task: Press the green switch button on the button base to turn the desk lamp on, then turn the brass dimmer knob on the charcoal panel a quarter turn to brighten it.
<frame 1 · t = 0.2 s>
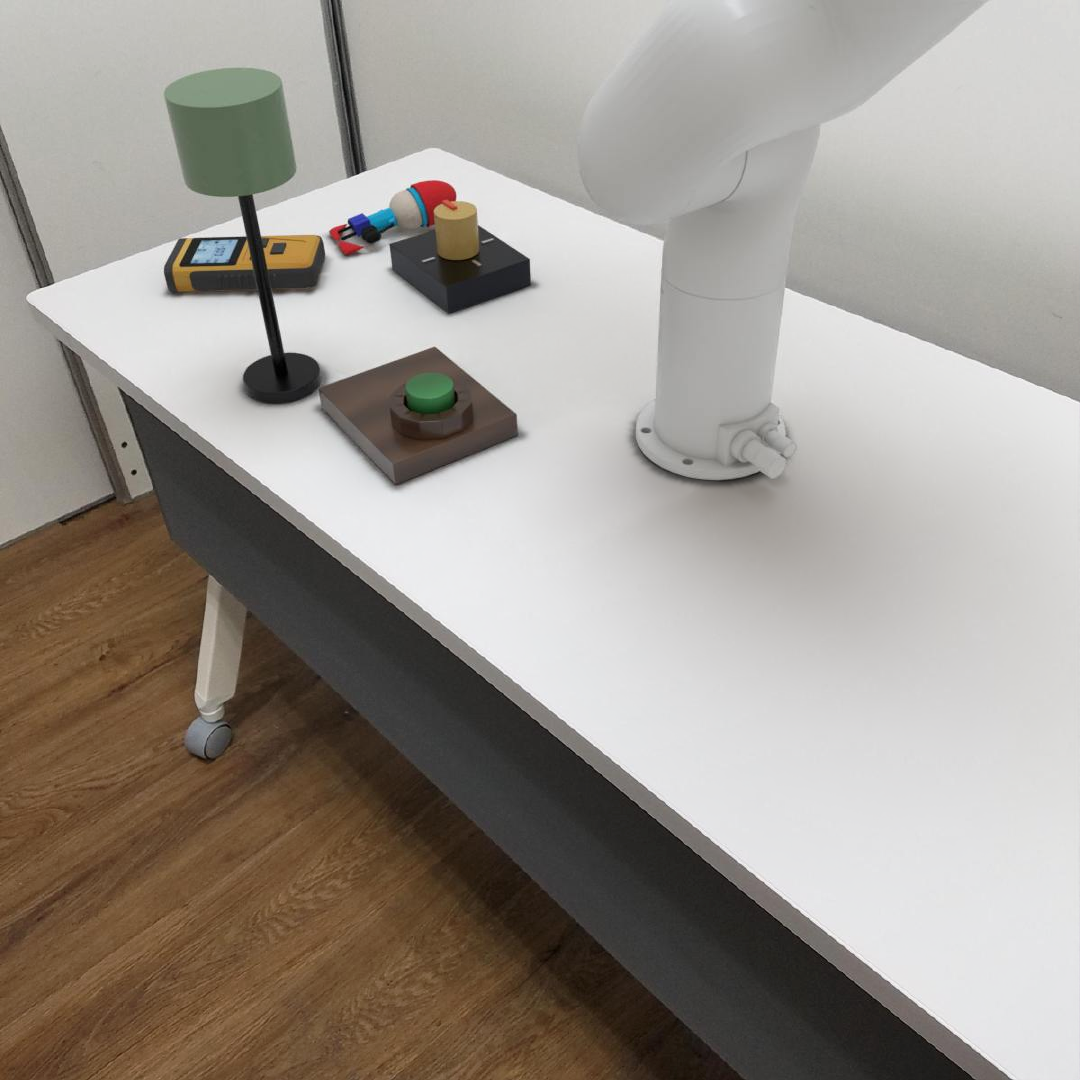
electronic device: (250, 277, 122), on the table
dimmer panel: (460, 277, 120), on the table
button base: (417, 421, 100), on the table
switch: (430, 394, 95), point 4 cm above the table, slide at 0.1 cm
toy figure: (397, 233, 129), on the table
lamp: (283, 383, 105), on the table
dimmer: (456, 229, 117), point 5 cm above the table, hinge at 0.0°
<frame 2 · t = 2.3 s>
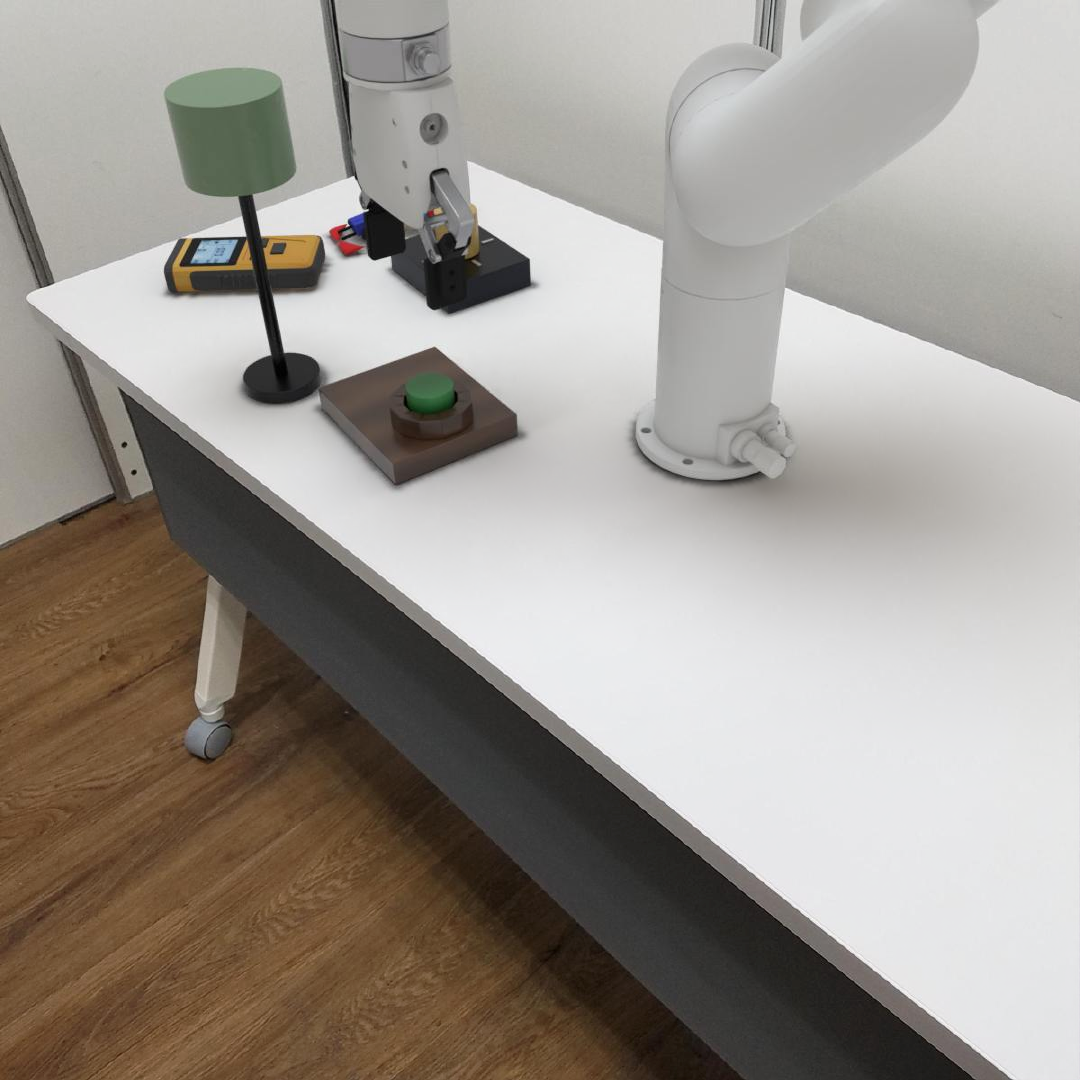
hand: (416, 278, 89), 15 cm above the table, tool pointing down, fingers open, 9 cm apart
nothing on the table moved.
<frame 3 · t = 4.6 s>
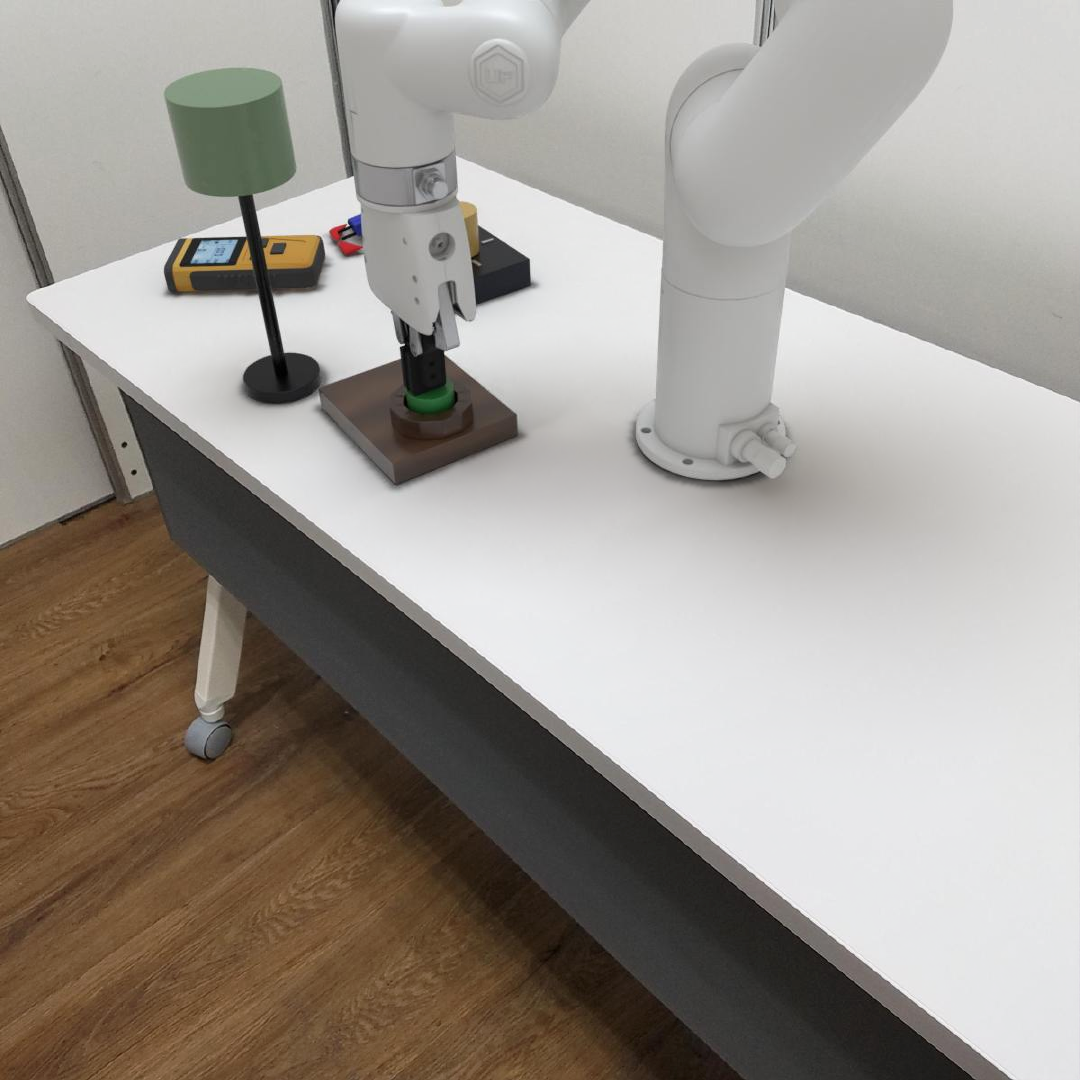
hand: (425, 386, 95), 5 cm above the table, tool pointing down, fingers closed
switch: (430, 395, 95), point 4 cm above the table, slide at -0.1 cm, touching gripper
everything else where it was.
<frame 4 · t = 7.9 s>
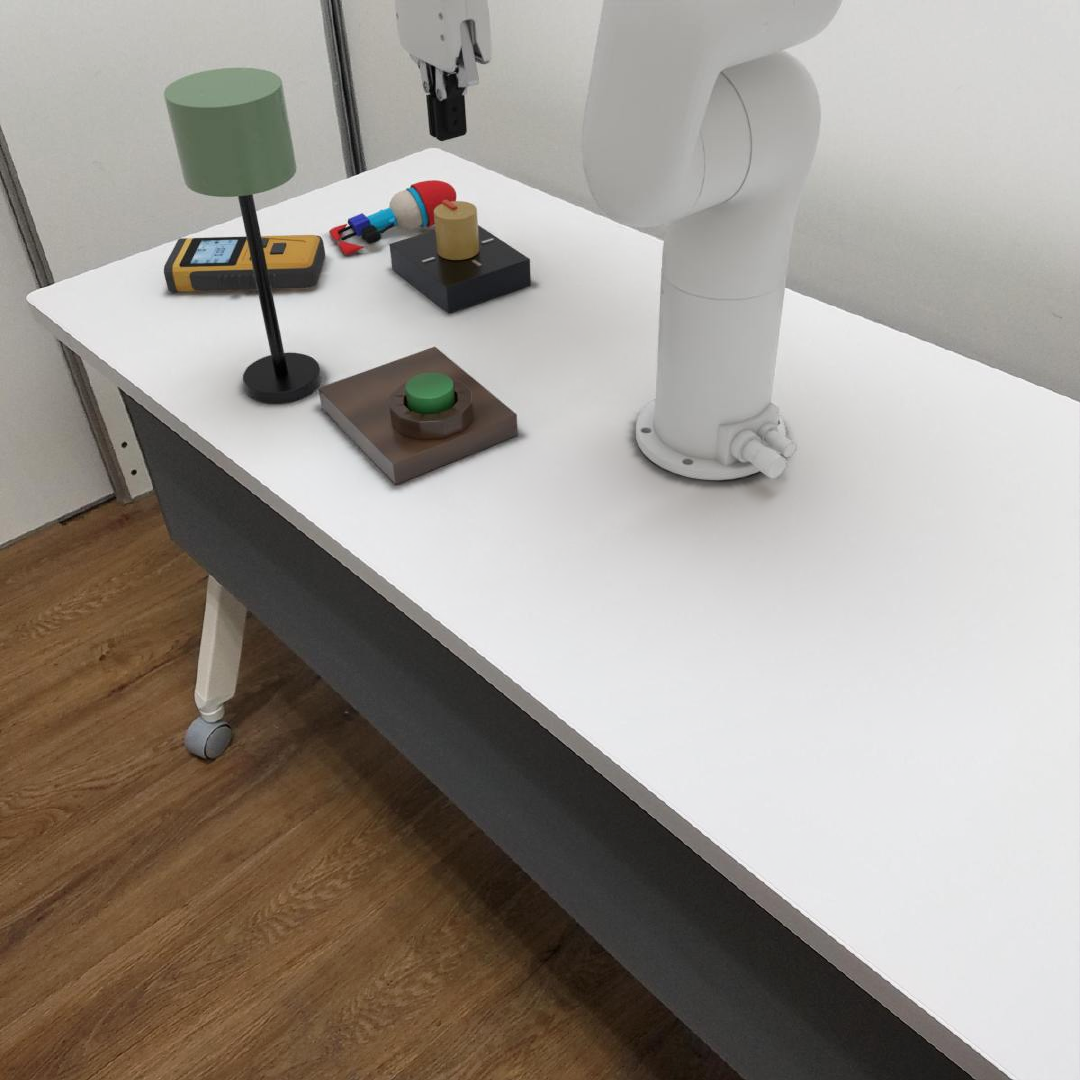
hand: (448, 135, 110), 15 cm above the table, tool pointing down, fingers closed
switch: (430, 394, 95), point 4 cm above the table, slide at 0.1 cm
everything else where it was.
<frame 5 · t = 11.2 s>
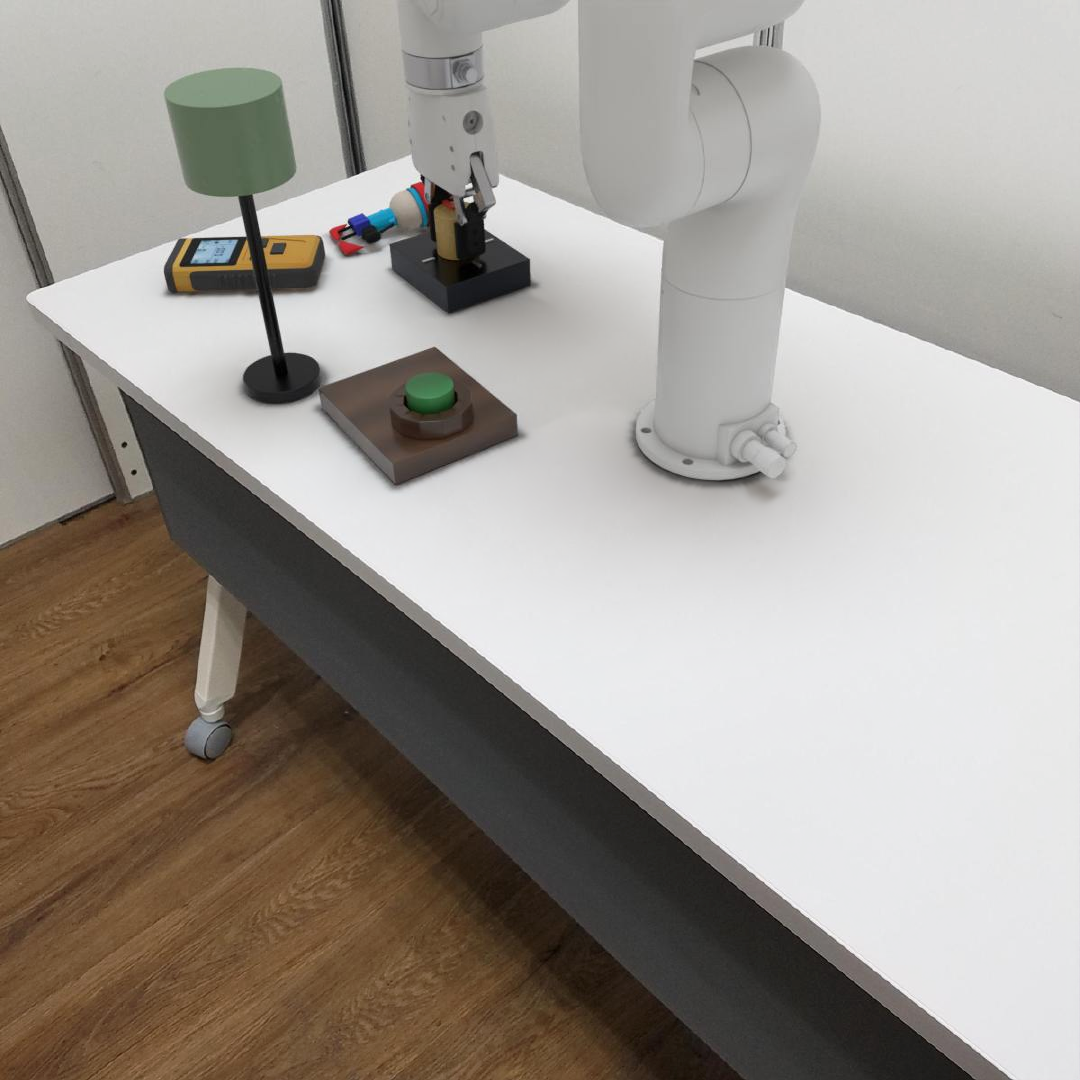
hand: (458, 245, 118), 4 cm above the table, tool pointing down, fingers closed on dimmer, 4 cm apart
dimmer: (456, 229, 117), point 5 cm above the table, hinge at 0.0°, touching gripper
everything else where it was.
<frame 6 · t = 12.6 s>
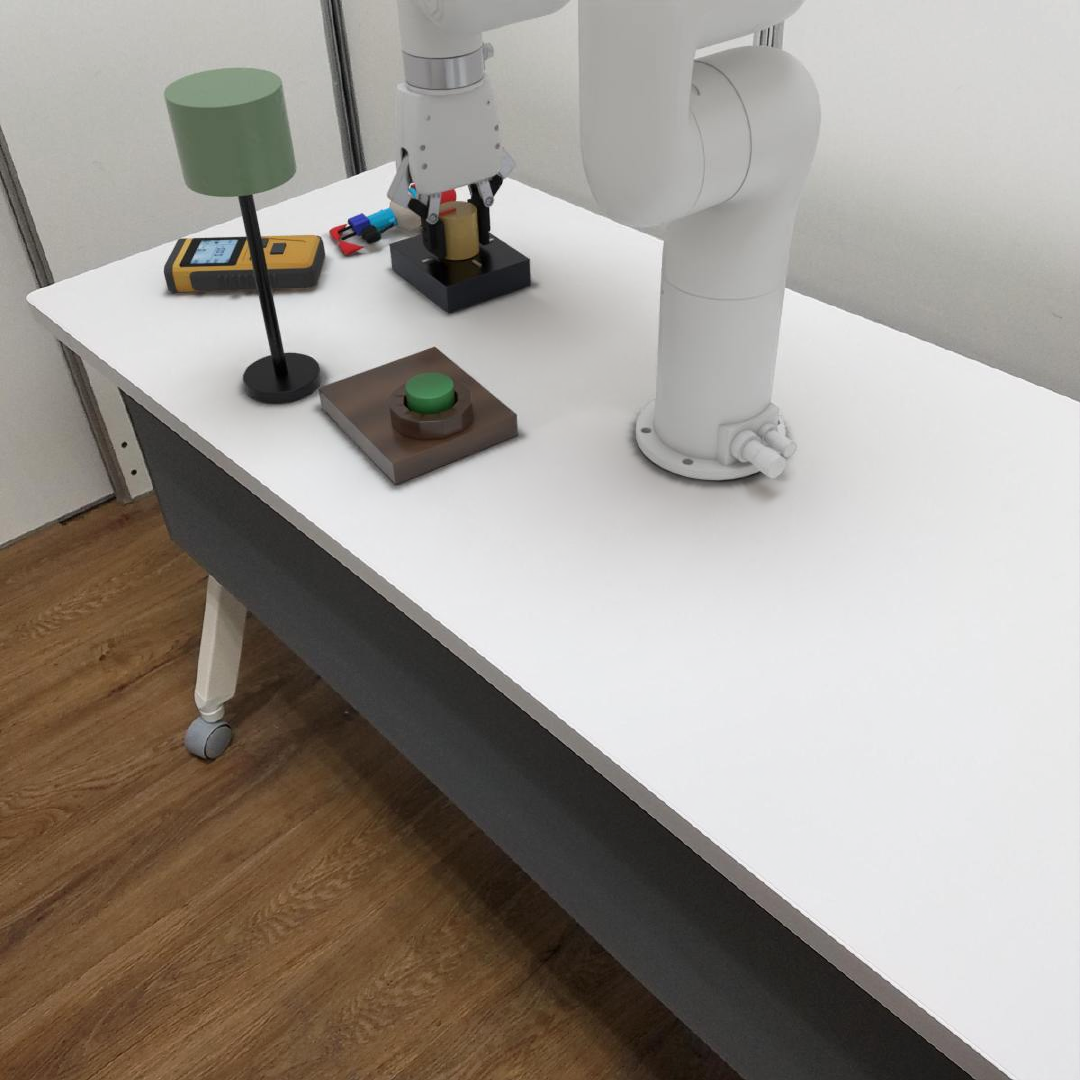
hand: (457, 245, 118), 4 cm above the table, tool pointing down, fingers closed on dimmer, 4 cm apart
dimmer: (456, 229, 117), point 5 cm above the table, hinge at 90.5°, touching gripper
everything else where it was.
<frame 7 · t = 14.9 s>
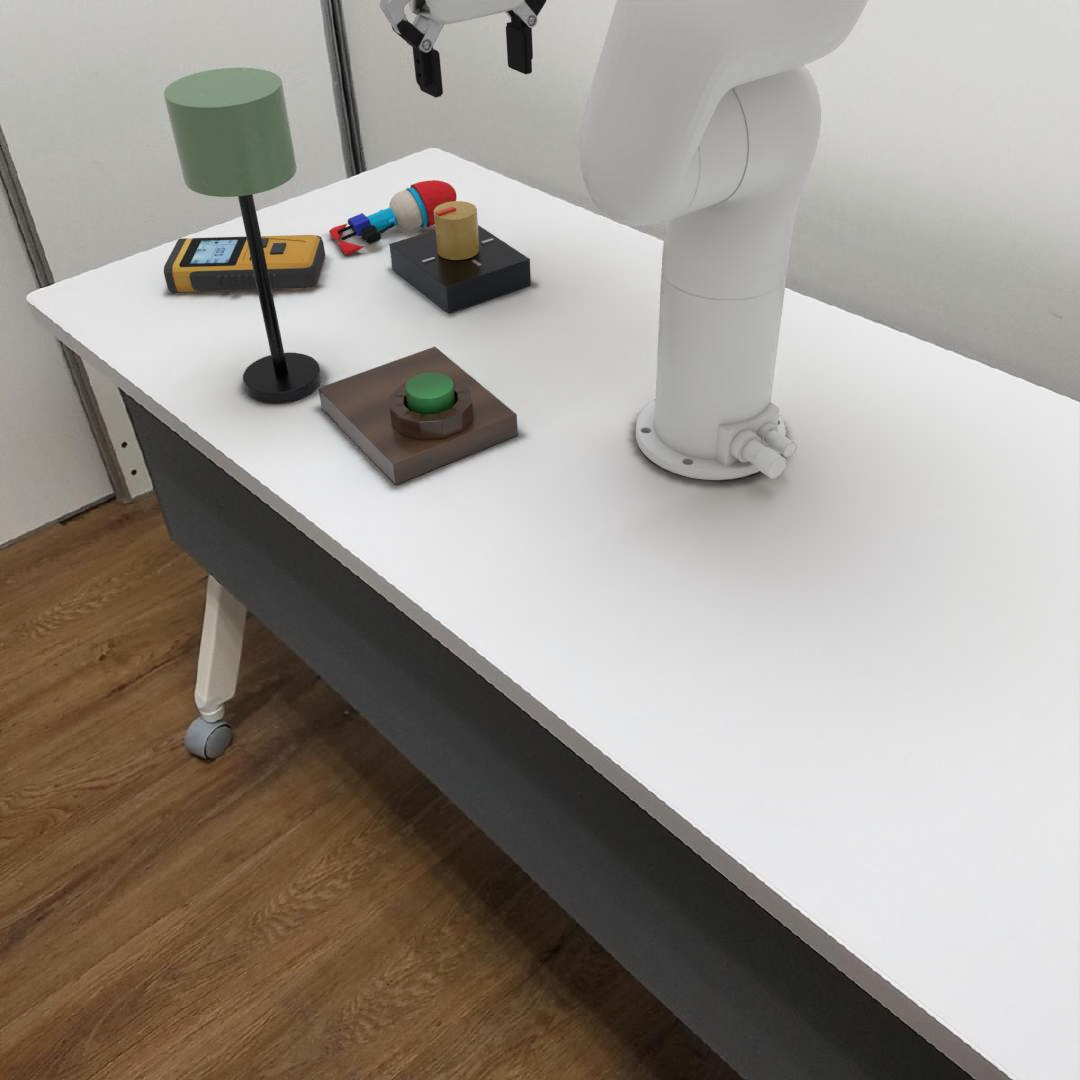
hand: (476, 81, 105), 21 cm above the table, tool pointing down, fingers open, 9 cm apart
dimmer: (456, 229, 117), point 5 cm above the table, hinge at 90.9°
everything else where it was.
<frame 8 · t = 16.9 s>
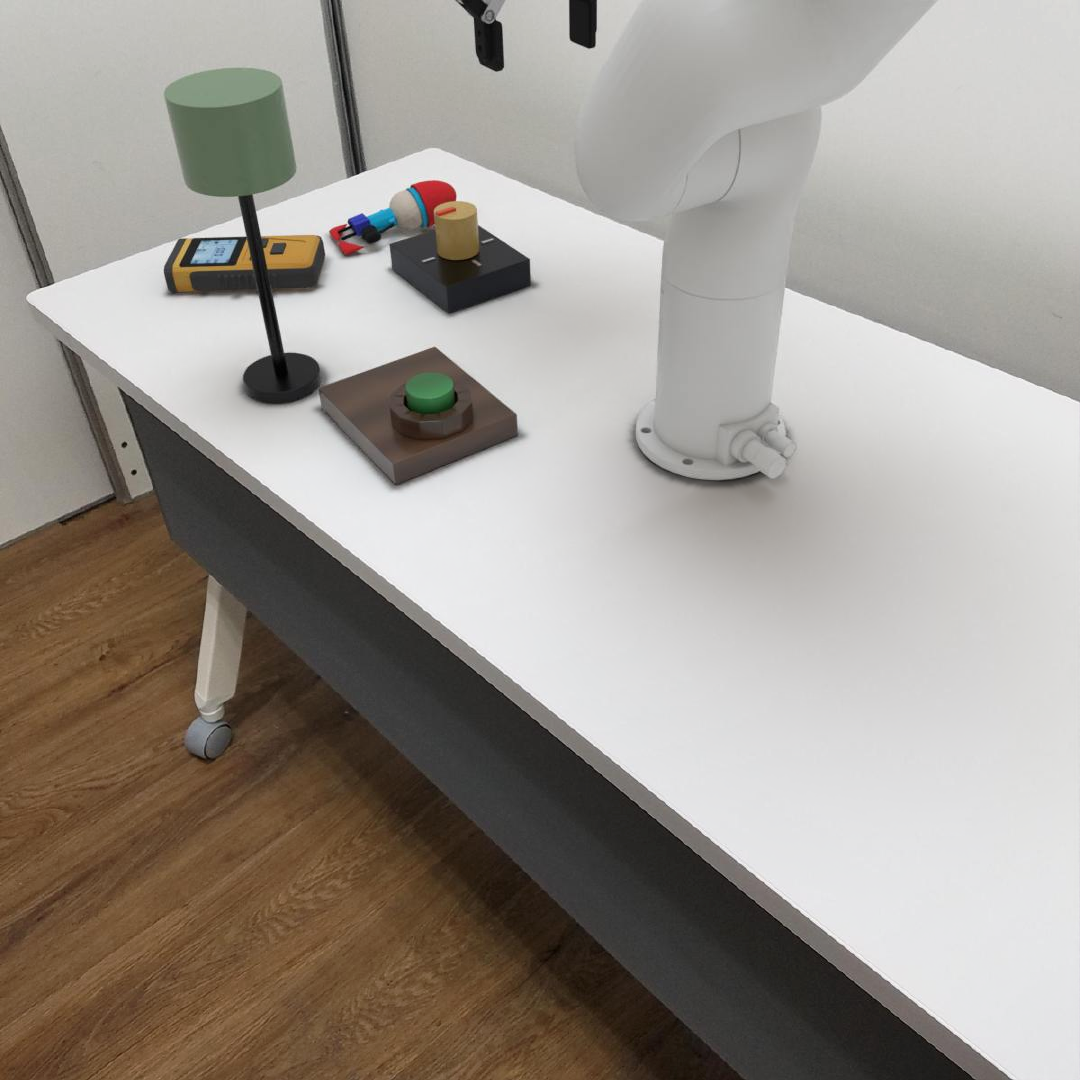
hand: (537, 55, 100), 24 cm above the table, tool pointing down, fingers open, 9 cm apart
nothing on the table moved.
at the end: switch pushed in 1.1 cm at the most during the clip, back to where it started at the end; switch slide at 0.1 cm; dimmer at +91° (first picture: +0°) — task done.
